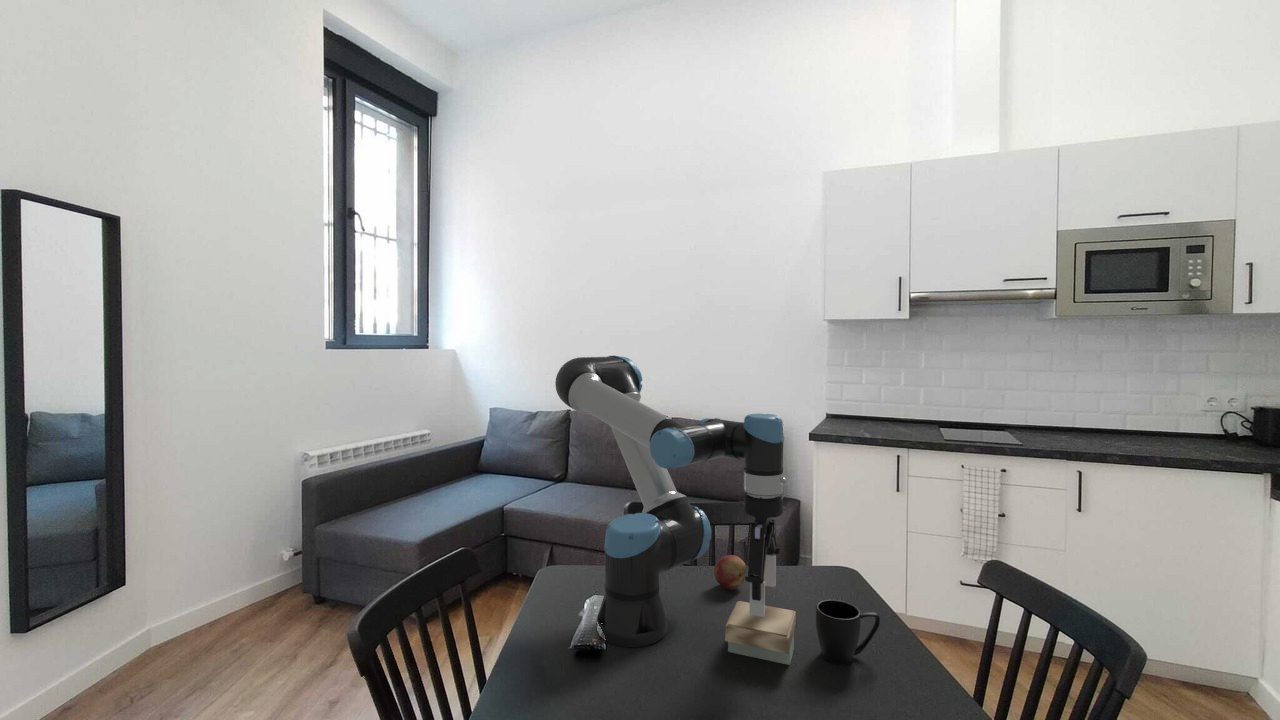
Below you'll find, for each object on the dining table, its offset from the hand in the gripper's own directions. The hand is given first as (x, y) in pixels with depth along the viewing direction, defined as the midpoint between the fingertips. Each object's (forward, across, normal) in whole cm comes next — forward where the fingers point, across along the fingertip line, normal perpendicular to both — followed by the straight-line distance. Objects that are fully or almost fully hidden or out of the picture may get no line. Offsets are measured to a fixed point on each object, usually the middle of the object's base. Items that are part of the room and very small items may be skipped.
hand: (763, 599), depth 113 cm
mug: (+11, +4, -16) cm, 19 cm away
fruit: (+10, +25, +12) cm, 30 cm away
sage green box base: (+10, 0, 0) cm, 11 cm away
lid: (+7, 0, 0) cm, 7 cm away
